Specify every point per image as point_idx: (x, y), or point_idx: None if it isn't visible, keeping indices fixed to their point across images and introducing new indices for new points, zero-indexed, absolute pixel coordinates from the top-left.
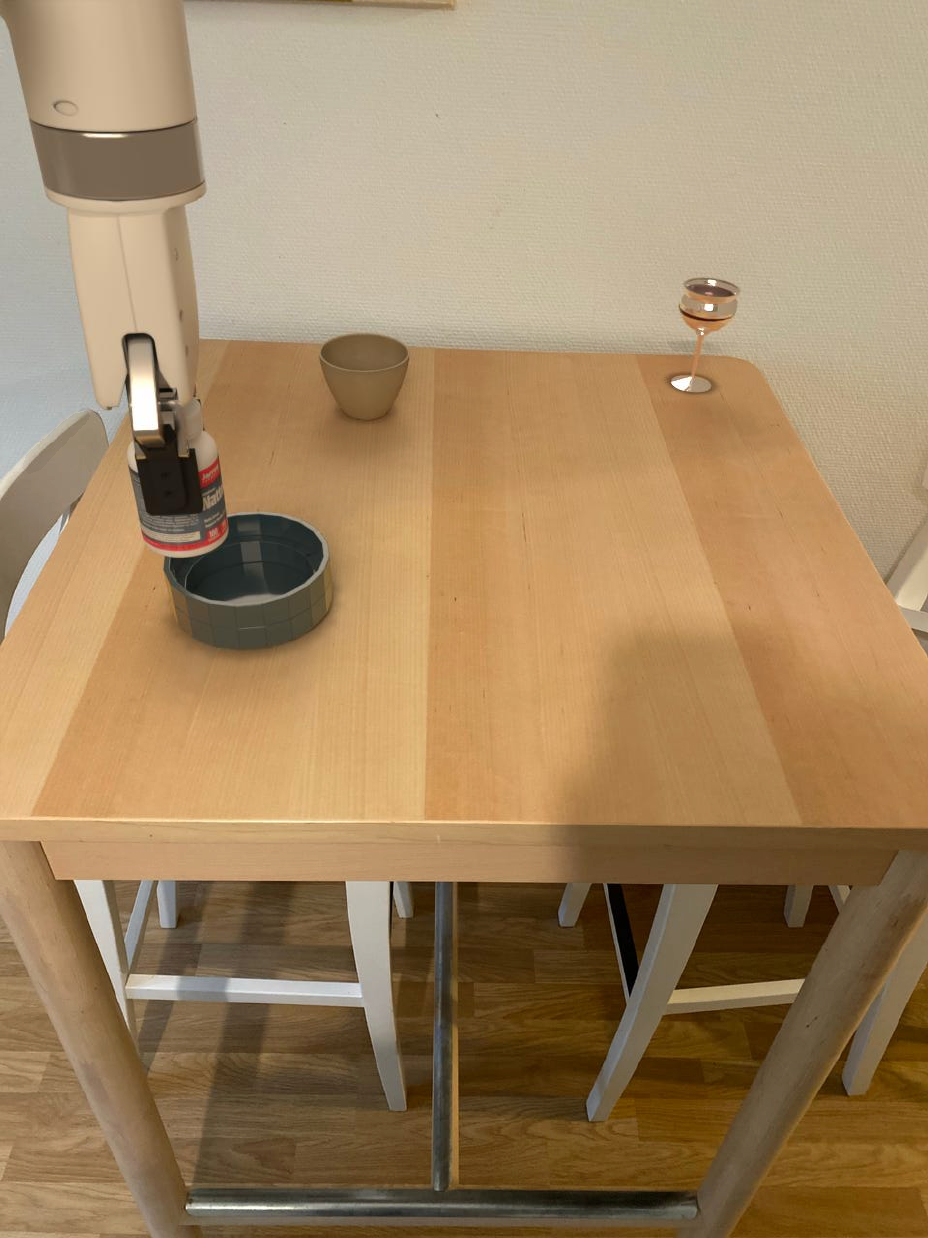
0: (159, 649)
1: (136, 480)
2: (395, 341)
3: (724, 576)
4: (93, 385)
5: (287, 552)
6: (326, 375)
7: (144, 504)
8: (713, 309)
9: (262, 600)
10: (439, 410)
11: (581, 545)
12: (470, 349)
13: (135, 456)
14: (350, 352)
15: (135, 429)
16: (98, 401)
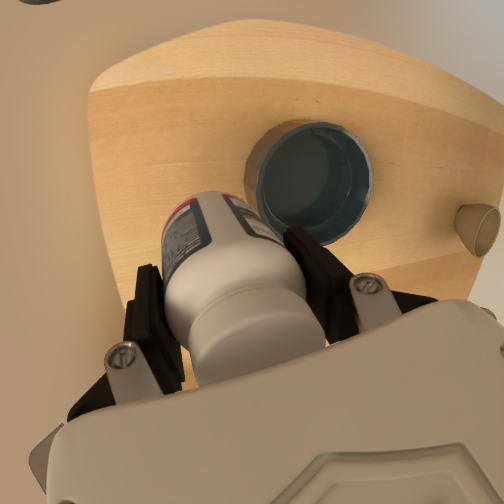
0: (248, 118)
1: (174, 260)
2: (489, 247)
3: None
4: (49, 479)
5: (340, 200)
6: (480, 209)
7: (168, 247)
8: None
9: (263, 212)
10: (451, 256)
11: (334, 343)
12: (482, 261)
13: (132, 331)
14: (491, 218)
15: (30, 465)
16: (52, 443)
